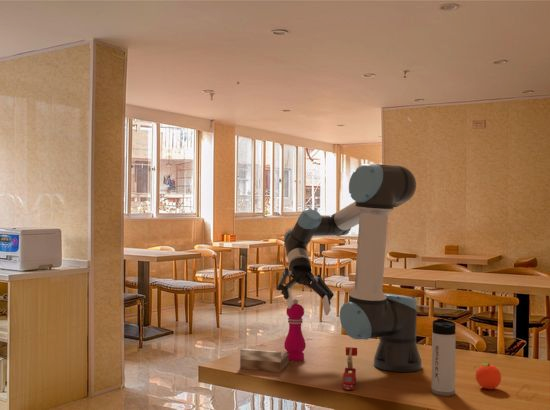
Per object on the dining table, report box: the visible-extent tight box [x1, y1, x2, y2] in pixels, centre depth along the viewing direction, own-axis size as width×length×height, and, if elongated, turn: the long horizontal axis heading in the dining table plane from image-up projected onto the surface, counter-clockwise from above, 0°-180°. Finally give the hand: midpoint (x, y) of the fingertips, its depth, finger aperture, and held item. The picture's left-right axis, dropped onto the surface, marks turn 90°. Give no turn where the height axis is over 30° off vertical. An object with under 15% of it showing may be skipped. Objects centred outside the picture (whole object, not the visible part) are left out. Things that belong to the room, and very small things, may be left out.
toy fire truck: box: [342, 346, 358, 391], centre depth 171 cm, size 3×14×10 cm, turn 168°
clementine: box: [474, 363, 502, 390], centre depth 168 cm, size 8×7×7 cm
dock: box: [239, 347, 290, 373], centre depth 189 cm, size 13×11×6 cm
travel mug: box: [431, 318, 457, 397], centre depth 164 cm, size 6×7×20 cm
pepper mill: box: [283, 298, 307, 362], centre depth 199 cm, size 7×7×20 cm
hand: (309, 309), depth 193 cm, fingers open, 13 cm apart
